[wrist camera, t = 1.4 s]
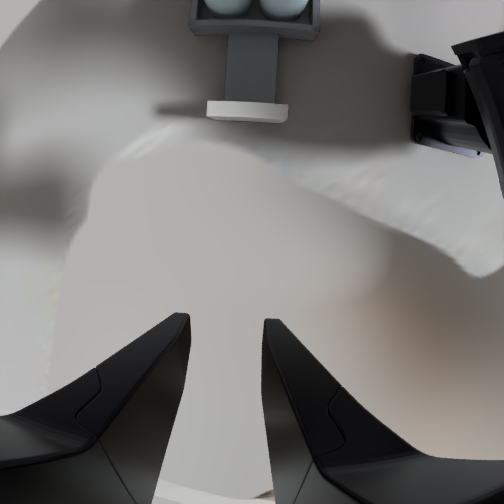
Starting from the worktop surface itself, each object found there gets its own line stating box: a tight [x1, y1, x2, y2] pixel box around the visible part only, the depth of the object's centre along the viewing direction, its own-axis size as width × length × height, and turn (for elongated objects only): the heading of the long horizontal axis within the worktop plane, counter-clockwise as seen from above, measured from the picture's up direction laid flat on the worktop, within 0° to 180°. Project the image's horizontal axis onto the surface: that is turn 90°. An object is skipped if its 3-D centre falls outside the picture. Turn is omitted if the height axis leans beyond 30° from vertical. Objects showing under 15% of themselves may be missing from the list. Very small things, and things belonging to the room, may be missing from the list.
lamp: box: [188, 0, 320, 123], centre depth 15 cm, size 8×10×4 cm
